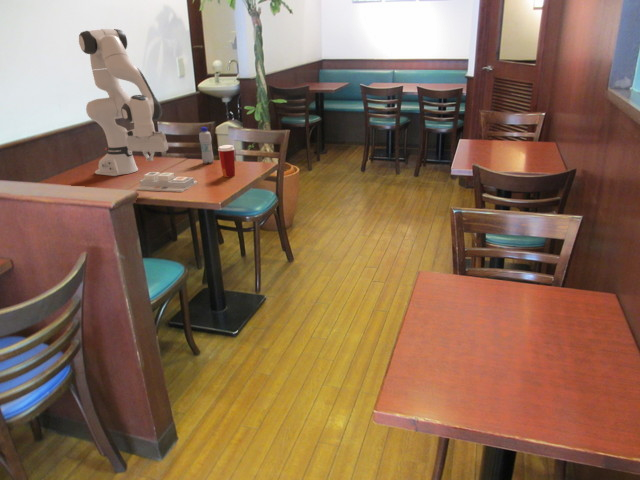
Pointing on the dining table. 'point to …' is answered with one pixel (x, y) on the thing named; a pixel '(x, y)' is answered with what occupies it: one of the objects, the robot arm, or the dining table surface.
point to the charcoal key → (151, 176)
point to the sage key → (166, 177)
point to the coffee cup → (227, 160)
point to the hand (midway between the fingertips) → (150, 160)
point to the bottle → (206, 145)
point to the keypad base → (166, 185)
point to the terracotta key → (180, 179)
